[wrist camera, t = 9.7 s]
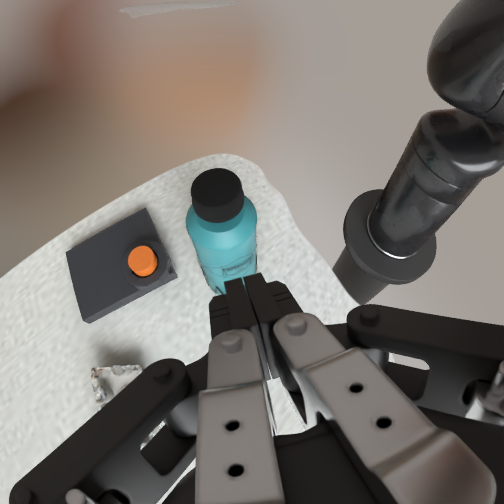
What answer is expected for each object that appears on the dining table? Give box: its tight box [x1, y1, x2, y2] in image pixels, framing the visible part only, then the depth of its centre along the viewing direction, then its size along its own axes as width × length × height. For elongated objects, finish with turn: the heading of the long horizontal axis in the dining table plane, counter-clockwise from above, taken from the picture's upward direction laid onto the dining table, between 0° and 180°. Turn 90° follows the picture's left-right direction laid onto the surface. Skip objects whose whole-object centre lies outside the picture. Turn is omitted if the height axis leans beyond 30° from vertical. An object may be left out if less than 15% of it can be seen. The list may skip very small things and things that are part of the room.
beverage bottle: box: [186, 168, 258, 295], centre depth 30 cm, size 6×7×20 cm
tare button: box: [128, 246, 157, 276], centre depth 36 cm, size 4×4×2 cm
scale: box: [66, 208, 177, 324], centre depth 39 cm, size 15×13×4 cm
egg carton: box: [91, 365, 159, 446], centre depth 30 cm, size 11×8×4 cm
